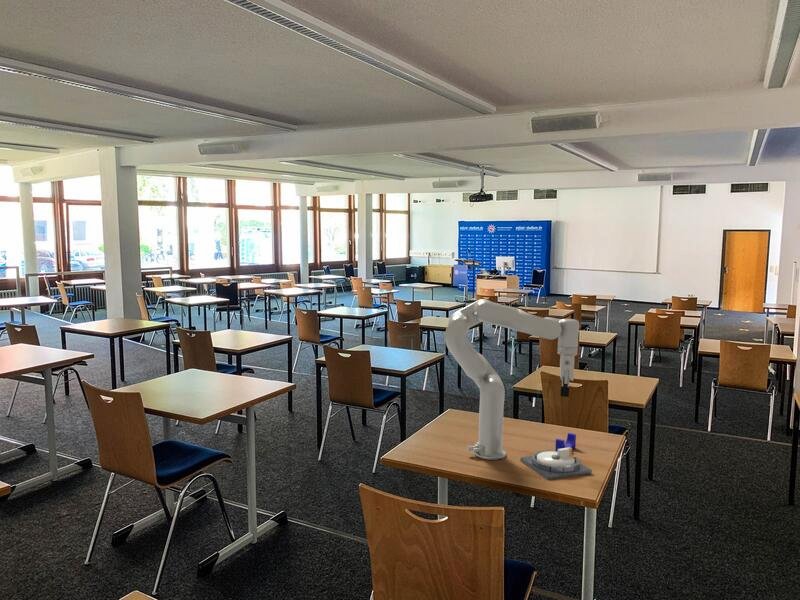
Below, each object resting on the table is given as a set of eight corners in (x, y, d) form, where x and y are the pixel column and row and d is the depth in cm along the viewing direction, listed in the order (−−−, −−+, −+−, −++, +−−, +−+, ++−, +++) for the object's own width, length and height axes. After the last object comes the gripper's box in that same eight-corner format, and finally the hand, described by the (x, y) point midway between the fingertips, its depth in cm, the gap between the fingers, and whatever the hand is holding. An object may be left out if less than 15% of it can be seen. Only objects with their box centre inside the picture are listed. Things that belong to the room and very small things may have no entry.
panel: (547, 479, 211) (547, 470, 211) (520, 460, 229) (520, 452, 229) (591, 473, 218) (592, 464, 217) (562, 455, 235) (562, 447, 235)
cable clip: (565, 456, 235) (566, 442, 235) (555, 453, 238) (555, 439, 238) (578, 449, 244) (579, 435, 244) (568, 446, 247) (569, 432, 247)
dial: (553, 471, 214) (553, 459, 213) (529, 458, 227) (529, 446, 226) (582, 466, 220) (583, 453, 219) (557, 453, 233) (558, 442, 232)
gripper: (578, 354, 221) (575, 401, 223) (576, 348, 236) (573, 392, 237) (557, 353, 223) (554, 400, 225) (557, 346, 237) (554, 390, 239)
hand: (564, 396), depth 231 cm, fingers closed
